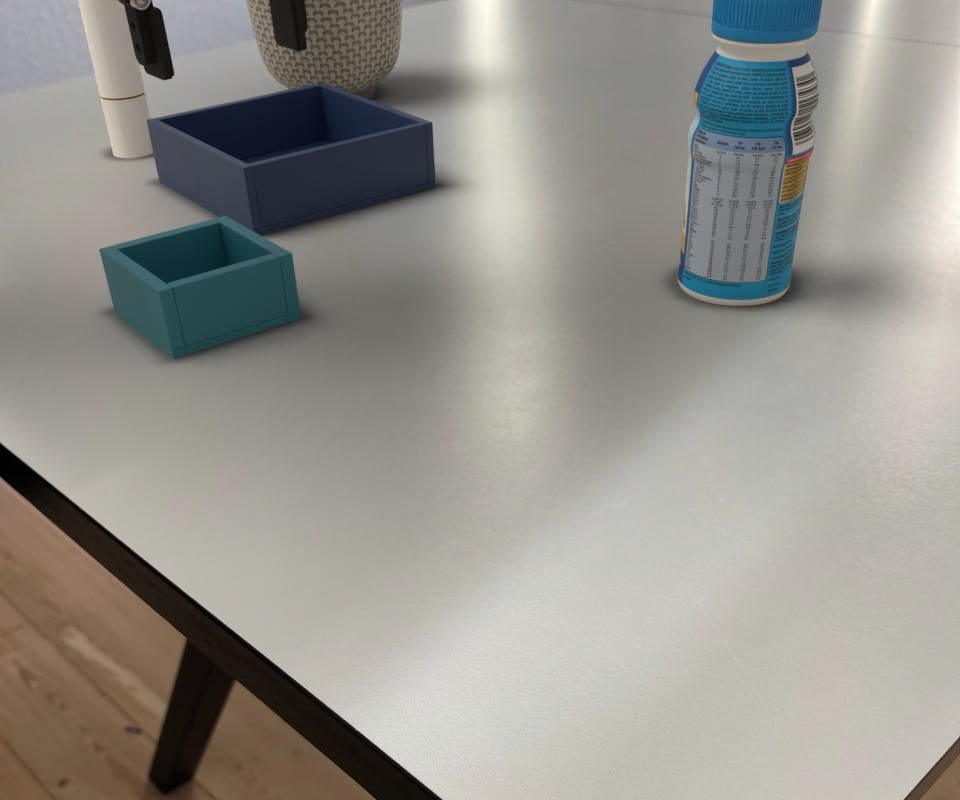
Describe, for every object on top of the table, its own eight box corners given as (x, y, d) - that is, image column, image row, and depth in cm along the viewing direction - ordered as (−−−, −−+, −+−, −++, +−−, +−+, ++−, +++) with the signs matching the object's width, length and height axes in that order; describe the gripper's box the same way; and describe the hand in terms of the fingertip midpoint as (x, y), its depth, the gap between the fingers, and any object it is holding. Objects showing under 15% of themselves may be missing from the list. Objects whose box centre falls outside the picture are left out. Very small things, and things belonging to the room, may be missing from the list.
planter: (298, 129, 118) (276, -48, 107) (234, 94, 129) (209, -68, 119) (439, 101, 124) (431, -68, 114) (367, 70, 136) (353, -86, 125)
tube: (148, 161, 111) (112, -12, 101) (107, 160, 111) (67, -12, 101) (163, 147, 114) (129, -21, 104) (123, 147, 114) (85, -21, 105)
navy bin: (254, 240, 93) (243, 168, 89) (159, 185, 105) (146, 119, 101) (436, 190, 102) (432, 122, 98) (329, 144, 113) (322, 82, 109)
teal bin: (174, 362, 76) (158, 291, 73) (115, 315, 82) (98, 248, 79) (301, 321, 80) (292, 253, 77) (236, 280, 87) (225, 215, 84)
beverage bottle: (696, 316, 79) (729, -4, 66) (660, 271, 86) (684, -29, 73) (809, 304, 80) (863, -14, 67) (765, 261, 87) (806, -37, 74)
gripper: (271, -282, 69) (311, 29, 80) (-7, -265, 61) (80, 77, 72) (336, -286, 64) (369, 46, 75) (43, -267, 56) (128, 99, 67)
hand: (227, 61), depth 73 cm, fingers open, 9 cm apart
